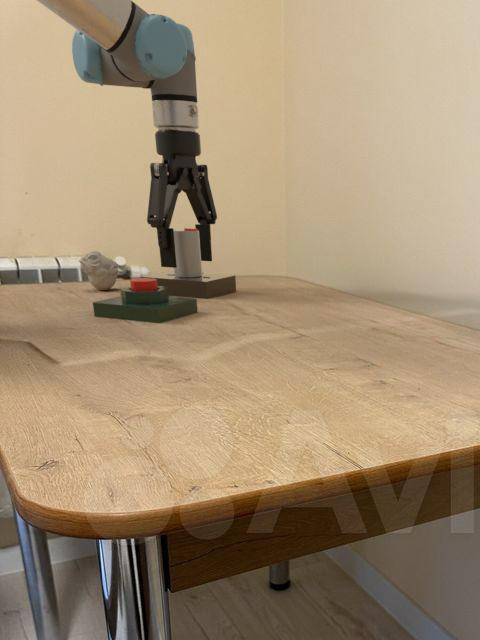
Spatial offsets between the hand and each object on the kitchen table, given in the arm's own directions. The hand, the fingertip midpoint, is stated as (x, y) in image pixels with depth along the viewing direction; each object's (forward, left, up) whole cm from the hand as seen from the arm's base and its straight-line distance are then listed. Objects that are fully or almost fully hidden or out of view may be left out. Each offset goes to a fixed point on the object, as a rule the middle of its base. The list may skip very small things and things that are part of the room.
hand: (187, 263), depth 130 cm
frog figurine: (-16, -5, -5) cm, 18 cm away
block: (+7, -22, -5) cm, 24 cm away
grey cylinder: (0, 0, -2) cm, 2 cm away
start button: (+7, -22, -2) cm, 23 cm away
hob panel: (0, 0, -5) cm, 5 cm away
